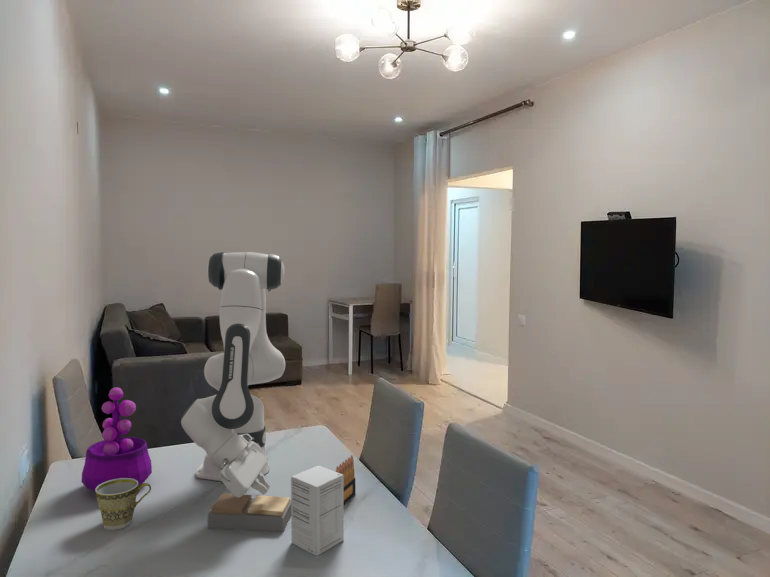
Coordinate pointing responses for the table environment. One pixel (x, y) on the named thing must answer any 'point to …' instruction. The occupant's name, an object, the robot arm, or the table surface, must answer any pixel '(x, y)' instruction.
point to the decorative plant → (116, 448)
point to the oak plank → (269, 505)
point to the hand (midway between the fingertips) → (267, 490)
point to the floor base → (244, 515)
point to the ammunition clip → (348, 478)
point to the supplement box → (317, 509)
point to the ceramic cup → (118, 501)
